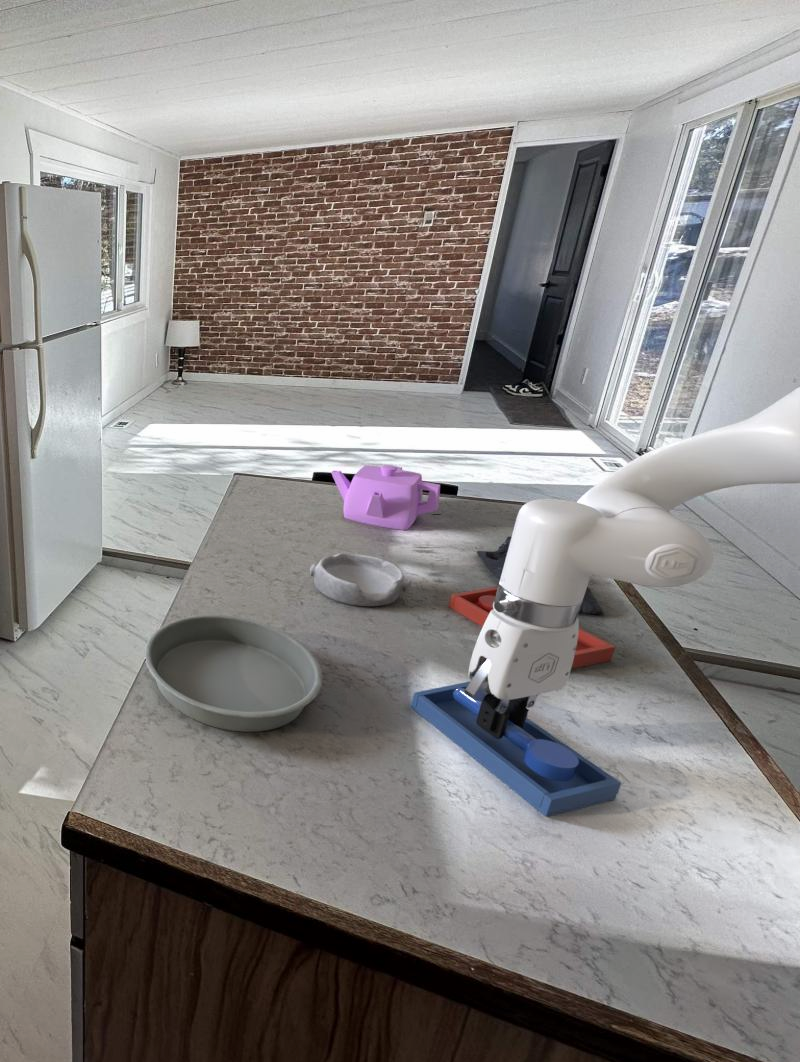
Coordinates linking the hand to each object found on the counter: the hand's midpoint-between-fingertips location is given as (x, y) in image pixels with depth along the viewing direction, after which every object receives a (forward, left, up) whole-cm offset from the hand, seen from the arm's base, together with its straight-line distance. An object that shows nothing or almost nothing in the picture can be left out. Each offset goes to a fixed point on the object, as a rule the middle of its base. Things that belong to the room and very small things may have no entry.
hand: (498, 728), depth 81 cm
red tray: (-26, -19, -2) cm, 32 cm away
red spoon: (-26, -19, -2) cm, 32 cm away
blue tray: (0, +1, -2) cm, 3 cm away
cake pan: (+26, -20, -2) cm, 33 cm away
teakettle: (-38, -65, -2) cm, 75 cm away
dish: (-10, -38, -2) cm, 39 cm away
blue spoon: (0, +1, 0) cm, 1 cm away
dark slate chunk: (-42, -31, -2) cm, 52 cm away
